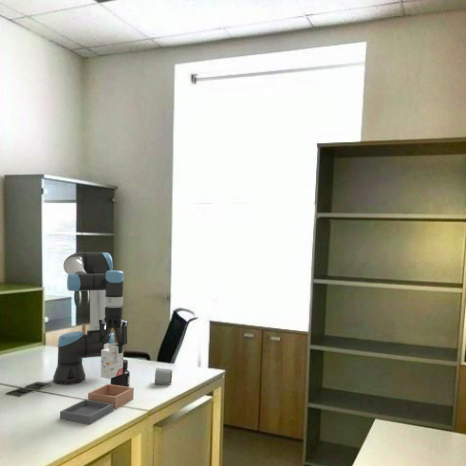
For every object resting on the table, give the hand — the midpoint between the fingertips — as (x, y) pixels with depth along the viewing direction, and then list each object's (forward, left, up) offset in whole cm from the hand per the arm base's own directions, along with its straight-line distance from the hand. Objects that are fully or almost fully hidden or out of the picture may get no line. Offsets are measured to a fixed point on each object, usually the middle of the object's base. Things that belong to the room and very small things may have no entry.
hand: (112, 359), depth 195 cm
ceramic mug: (+8, +33, -18) cm, 38 cm away
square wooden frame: (0, 0, -18) cm, 18 cm away
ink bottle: (-9, +20, -18) cm, 28 cm away
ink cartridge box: (0, 0, -7) cm, 7 cm away
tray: (0, -16, -18) cm, 24 cm away
